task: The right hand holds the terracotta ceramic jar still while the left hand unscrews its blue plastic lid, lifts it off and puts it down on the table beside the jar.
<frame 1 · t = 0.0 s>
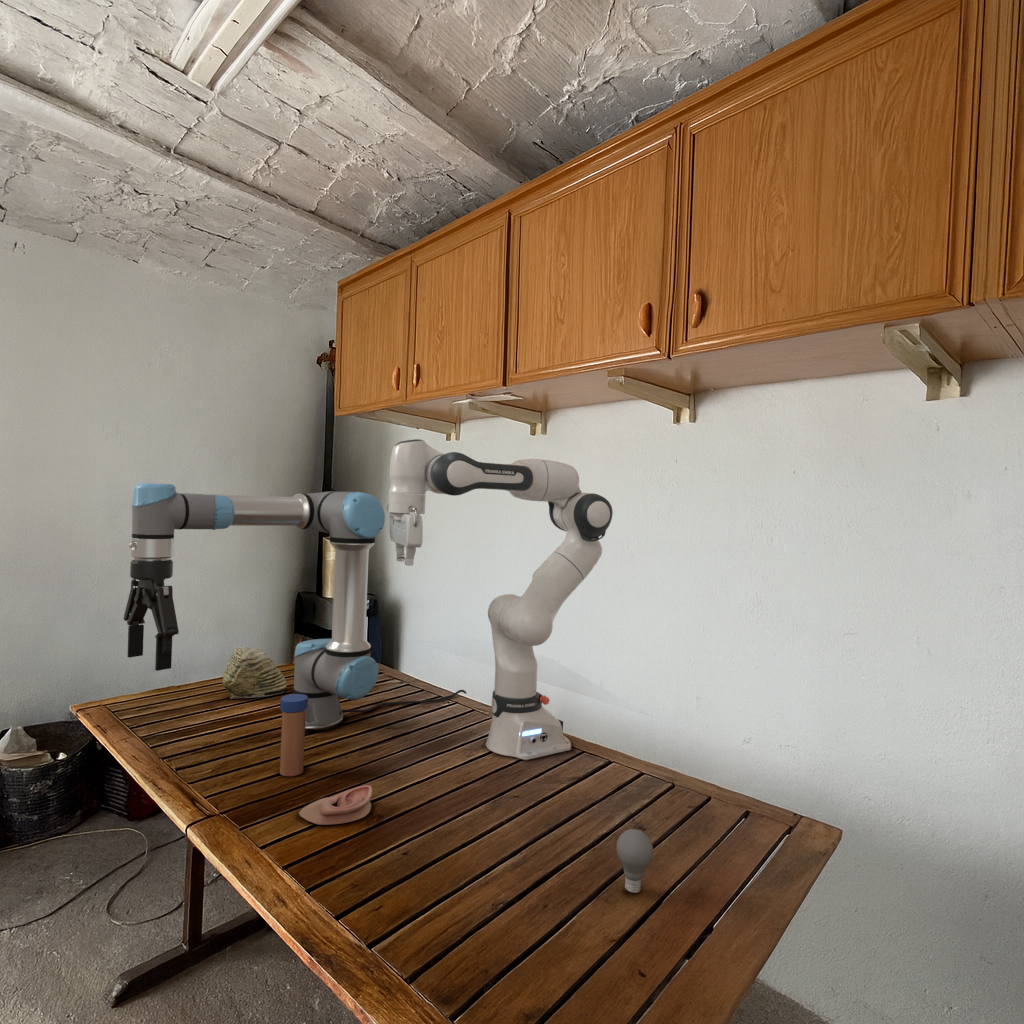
left hand: (148, 662, 129), 28 cm above the table, tool pointing down, fingers open, 13 cm apart
right hand: (404, 563, 153), 48 cm above the table, tool pointing down, fingers open, 8 cm apart
fossil: (254, 694, 198), on the table
light bulb: (632, 891, 106), on the table
lid: (294, 699, 145), point 17 cm above the table, screwed on, not yet turned
anatomical model: (335, 812, 127), on the table
jar: (291, 771, 145), on the table
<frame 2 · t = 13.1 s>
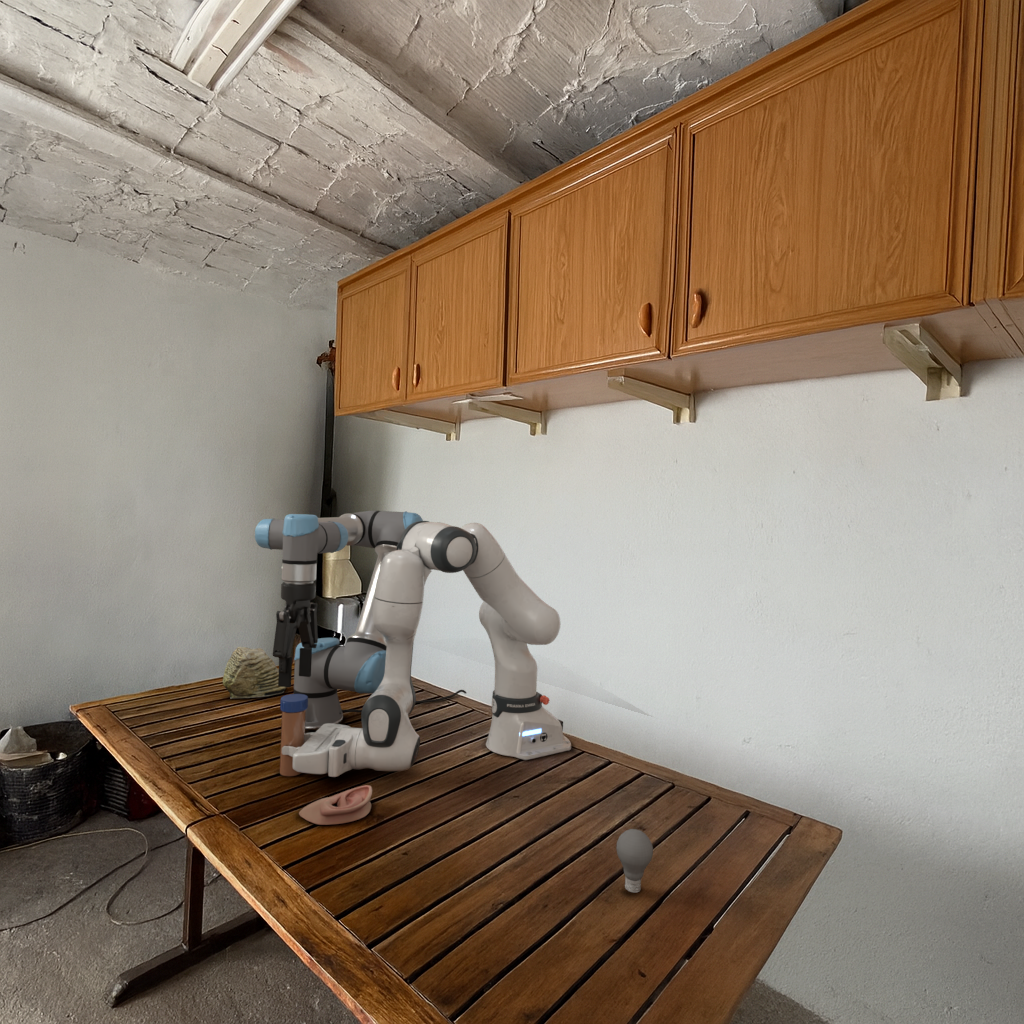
left hand: (295, 680, 145), 21 cm above the table, tool pointing down, fingers open, 8 cm apart
right hand: (288, 743, 145), 6 cm above the table, tool horizontal, fingers closed on jar, 5 cm apart
jar: (291, 771, 145), on the table, touching right hand
everything else where it was.
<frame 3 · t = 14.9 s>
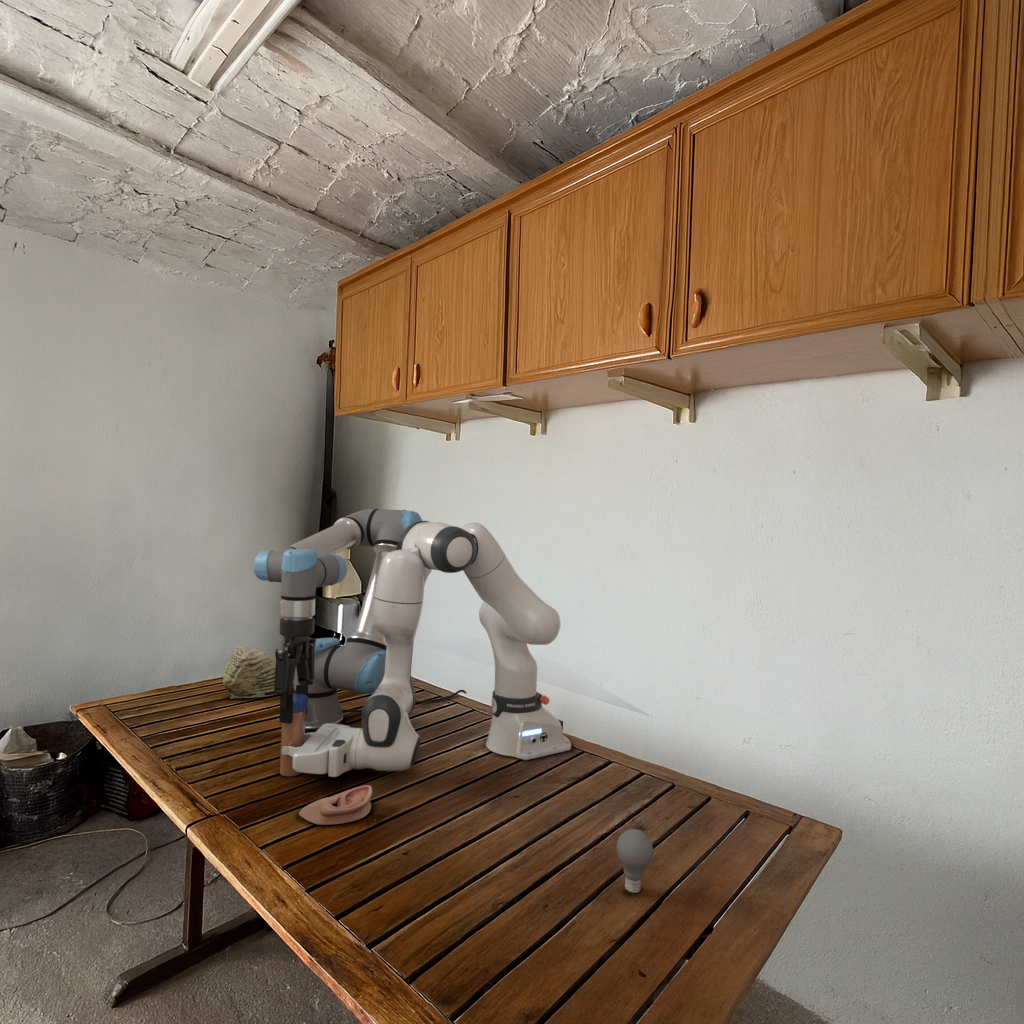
left hand: (293, 717, 145), 12 cm above the table, tool pointing down, fingers closed on lid, 6 cm apart
right hand: (288, 743, 145), 6 cm above the table, tool horizontal, fingers closed on jar, 5 cm apart
lid: (294, 699, 145), point 17 cm above the table, screwed on, not yet turned, touching left hand
jar: (291, 771, 145), on the table, touching right hand
everything else where it was.
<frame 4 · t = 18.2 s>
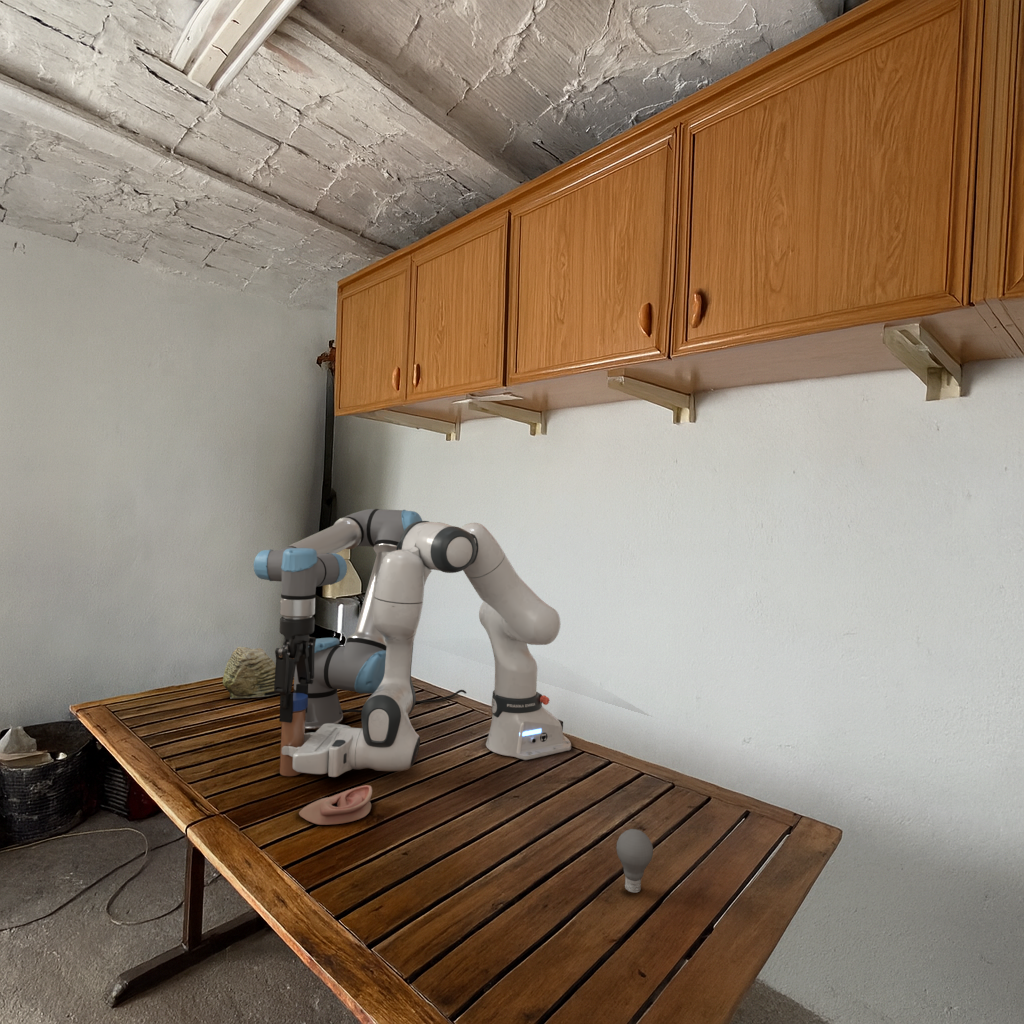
left hand: (293, 716, 145), 13 cm above the table, tool pointing down, fingers closed on lid, 6 cm apart
right hand: (288, 743, 145), 6 cm above the table, tool horizontal, fingers closed on jar, 5 cm apart
lid: (294, 698, 145), point 17 cm above the table, turned 91° so far, risen 0.2 cm, still on its thread, touching left hand
jar: (291, 771, 145), on the table, touching right hand
everything else where it was.
when the left hand's fingers open (0 cm above the table, at t = 25.8 s): lid drops 2 cm, point 2 cm above the table.
when the right hand's fingers open (6 cm above the table, at t = 26.5 s): jar stays where it is, on the table.
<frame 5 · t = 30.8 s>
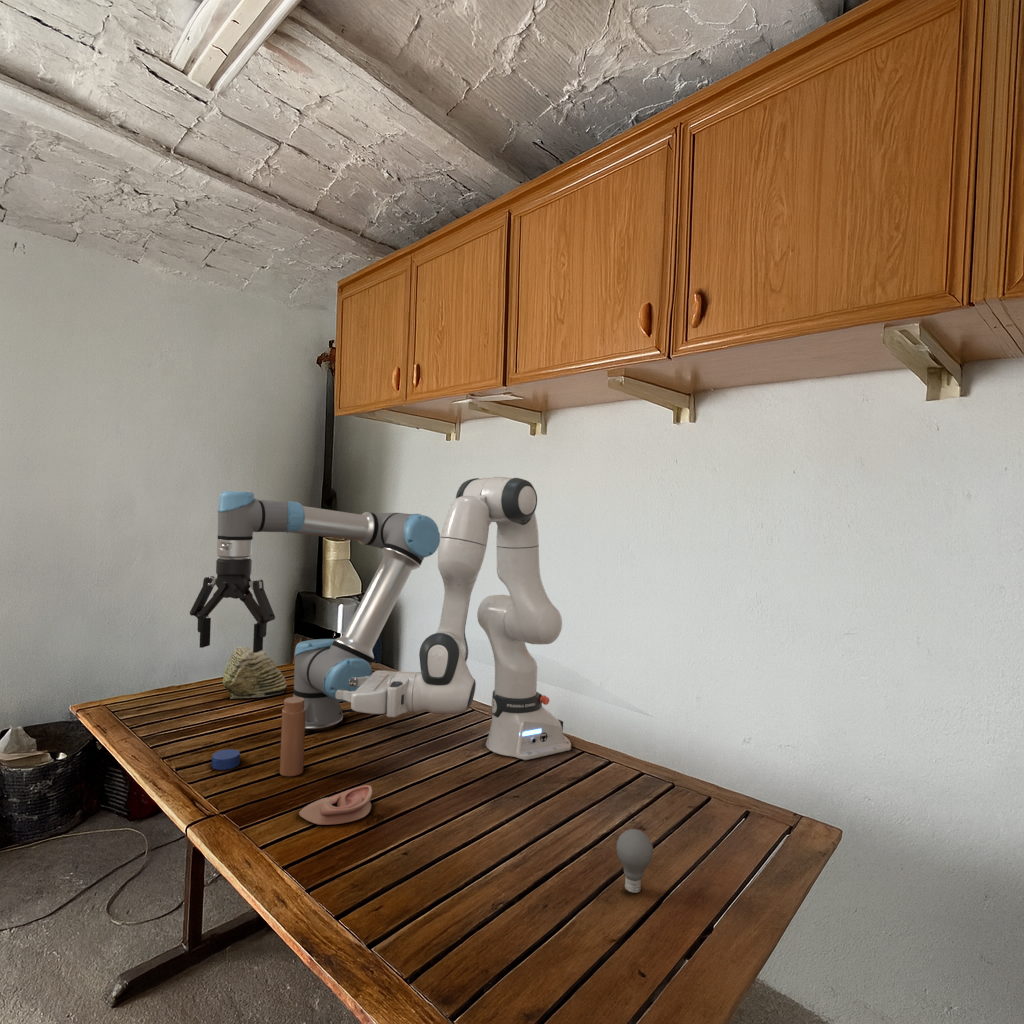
left hand: (231, 649, 147), 27 cm above the table, tool pointing down, fingers open, 13 cm apart
right hand: (343, 687, 144), 20 cm above the table, tool horizontal, fingers open, 8 cm apart
lid: (226, 755, 147), point 2 cm above the table, off its thread
jar: (291, 771, 145), on the table
everything else where it was.
at the end: lid came off its thread; lid point 2.1 cm above the table; the left hand is holding nothing; the right hand is holding nothing; jar tilted 0°; jar moved 0.0 cm from its start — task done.
